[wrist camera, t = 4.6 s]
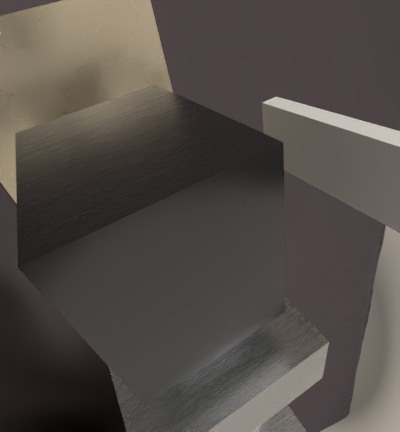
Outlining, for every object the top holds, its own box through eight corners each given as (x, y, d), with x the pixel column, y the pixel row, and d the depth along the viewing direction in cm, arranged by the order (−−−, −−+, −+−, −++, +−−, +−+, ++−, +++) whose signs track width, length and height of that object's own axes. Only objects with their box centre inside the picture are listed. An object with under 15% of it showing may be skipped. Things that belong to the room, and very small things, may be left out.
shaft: (196, 418, 28) (237, 507, 23) (14, 133, 9) (17, 267, 4) (239, 387, 29) (287, 465, 24) (154, 84, 11) (283, 142, 6)
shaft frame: (160, 389, 34) (223, 549, 24) (-98, 40, 11) (-1194, 241, 1) (231, 342, 37) (316, 467, 26) (138, -19, 14) (492, -126, 4)
